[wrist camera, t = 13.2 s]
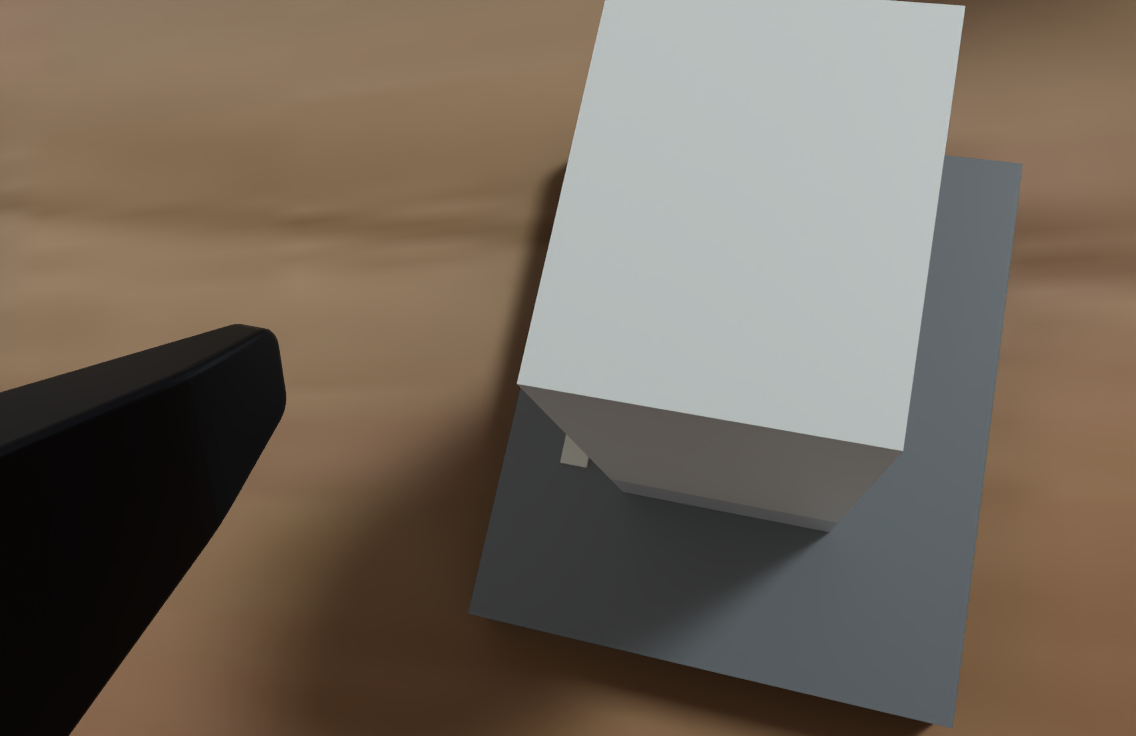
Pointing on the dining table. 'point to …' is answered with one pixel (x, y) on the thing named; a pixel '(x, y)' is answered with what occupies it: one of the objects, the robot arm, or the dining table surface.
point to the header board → (782, 551)
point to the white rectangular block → (746, 249)
